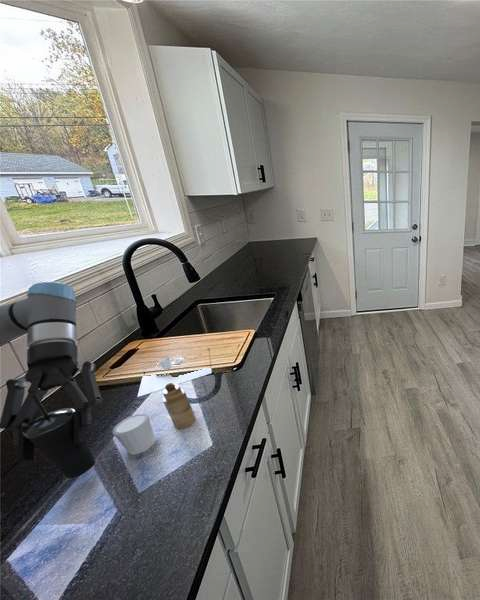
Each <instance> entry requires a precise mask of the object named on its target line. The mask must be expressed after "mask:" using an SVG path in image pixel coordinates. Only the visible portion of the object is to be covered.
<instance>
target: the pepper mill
mask: <svg viewBox="0 0 480 600" xmlns="http://www.w3.org/2000/svg"><path fill="white" fill-rule="evenodd" d="M162 394H163V397H162V402H163V404H164V406H165V408H166V411H167V413H168V415H169V418H170V420H171V422H172V425H173V426H174V428H175V429H176V428H177V430H183V429H186V428H188V427H191V425H193V424H194V423H195V422H196V420H197V417H196V415H195V413H194V409H193V407H192V405H191V403H190V401H189V398H188V396H187V393H186V391H185V390H184V389H182V388H181V387H180V385H179V384H177V385H174V384H173V383H169V384H167V385H166V387H165V388H164V389H162Z"/></svg>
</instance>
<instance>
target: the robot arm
mask: <svg viewBox="0 0 480 600" xmlns="http://www.w3.org/2000/svg"><path fill="white" fill-rule="evenodd" d="M26 296H27V297H26V298H21V299H19V300H17V301H14V302H13V301H12V302H10V303H6V304H2V305H0V347H2V346H4V345H5V344H6V343H9V342H10V341H13V340H14V339H16V338H18V337H21V336H24V335H26V334H27V335H26V336H27V339H26V347H27V348H28V349H27V350H26V366H27V372H26V373H25V375H24V376H21V377H19V378H16V379H13V378H9V379H7V380H6V382H5V386H6V388H7V392H6V396H5V401H4V405H3V409H2V413H1V417H0V429H1V430H2V429H3V430H12V432H13V433H12V444H13V446H16V447H17V462H18V463H19V462H31V461H34V459H35V444H34V443H33V442H32V441H31V440H30V439H29V438H26V437H24V436H23V434H22V433H23V430H24V429H25V428H26V427H27V426H28V425H29V424H30V423H32V421H33V418H34V416H35V415H36V412H37V411H38V408H37V406H36V405H35V403H34V402H33V400H32V399H31V397H32V396H36V397H37V399H38V400H39V402H40V403H41V402H42V400H43V398H44V396H45V395H47V394H48V392H49V391H50V390H52V389H55V388H57V387H63V389H64V390H65V391H66V394H68V396H69V397H70V399H71V400H72V402H73V403H74V405H75V406H76V408H75V409H76V410H75V411H76V412H73V419H74V444H85V443H88V432H87V431H88V430H87V429H88V428H87V427H88V426H91V424H92V409H93V408H95V407H96V406H100V405H101V404H102V403H103V399H102V395H101V392H100V389H99V385H98V381H97V377H96V368H97V364H96V363H94V362H90V361H89V360H87V361H84V362H83V363H81V362H80V363H79V362H78V357H79V356H78V355H79V354H78V346H77V345H76V344H77V343H78V336H77V333H78V332H77V300H76V293H75V289H74V288H73V287H72V286H71V285H69V284H66V283H64V282H60V281H40V282H37V283H33V284H32V285H31V286H30V287H29V288H28V289H27V293H26ZM78 371H79V372H80V374H81V378H82V382H83V385H84V389H85V393H86V396H85V395H84V393H83V391H82V389H81V388H80V387H79V385H78V382H77V381H76V379H75V378H74V376H75V375H76V374H77V373H78ZM28 383H30V385H29V388H28V389H27V395H26V397H25V390H26V389H25V388H27V387H28V385H27V384H28ZM24 397H25V398H24Z"/></svg>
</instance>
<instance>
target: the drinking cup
mask: <svg viewBox="0 0 480 600" xmlns="http://www.w3.org/2000/svg"><path fill="white" fill-rule="evenodd" d="M31 399H32V400H33V402H34V403H35V405H36V406H37V410H38V411H39V413H40V414H41V416H40V417H38V418H36V419H34V420H32V421H31V422H30V424H29V425H28V426H27V427H26V428H25V429H24V430H23V433H22V434H23V436H24V437H26V438H29V439H30V440H31V441H32V442H33V443H34V446H35V447H36V448H37V449H38V450H39V451H40V452H41V453H42V454H43V455H44V456H45V457H46V458H47V459H48V460H49V461H50V462H51V463H52V464H53V465H54V466H55V467H56V468H57V469H58V470H59V472H61V474H63V476H65V478H67V479H74V478H77V477H80V476H82V475H84V474H85V473H87V472H89V471H90V470H91V469H92V468H93V467H94V466H95V464H96V459H95V457H94V455H93V453H92V450H91V448H90V446H89V443H88V442H87V443H85V444H74V419H73V412H76V411H77V410H75V409H74V408H71V407H65V408H60V409H57V410H54V411H49V412H47V411H46V409H45V408H44V406H43V405H42V403H41V402H39V400H38V399H37V397H36V396H32V397H31Z"/></svg>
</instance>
